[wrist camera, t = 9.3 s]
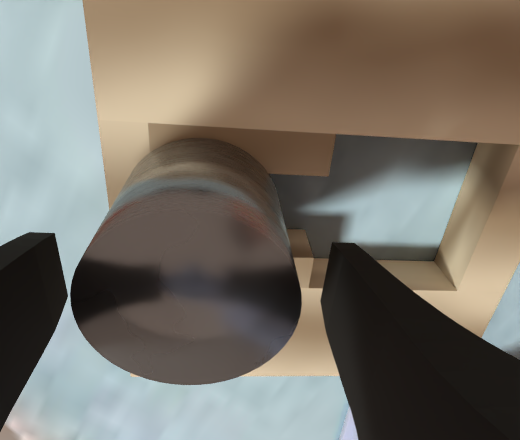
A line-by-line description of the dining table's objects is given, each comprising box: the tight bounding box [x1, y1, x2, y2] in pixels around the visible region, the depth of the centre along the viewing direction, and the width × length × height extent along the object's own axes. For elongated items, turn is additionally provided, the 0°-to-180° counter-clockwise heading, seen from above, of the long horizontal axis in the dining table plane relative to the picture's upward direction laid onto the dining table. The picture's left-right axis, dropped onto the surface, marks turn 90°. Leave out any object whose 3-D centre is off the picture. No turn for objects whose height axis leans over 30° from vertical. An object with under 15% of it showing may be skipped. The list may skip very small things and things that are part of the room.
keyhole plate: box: [83, 0, 520, 377], centre depth 14 cm, size 16×15×2 cm
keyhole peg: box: [70, 138, 302, 385], centre depth 11 cm, size 5×5×7 cm
